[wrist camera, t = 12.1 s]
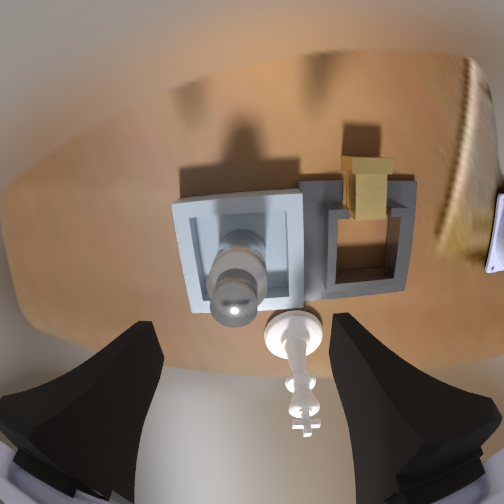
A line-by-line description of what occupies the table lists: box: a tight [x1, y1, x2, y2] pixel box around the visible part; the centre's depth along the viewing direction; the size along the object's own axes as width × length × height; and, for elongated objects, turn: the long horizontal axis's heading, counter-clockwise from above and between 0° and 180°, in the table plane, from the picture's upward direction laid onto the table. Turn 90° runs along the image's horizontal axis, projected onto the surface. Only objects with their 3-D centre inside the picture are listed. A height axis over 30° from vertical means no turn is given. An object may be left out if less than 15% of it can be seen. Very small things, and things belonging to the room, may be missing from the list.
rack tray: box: [171, 188, 304, 313], centre depth 18 cm, size 8×8×2 cm
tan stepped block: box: [342, 156, 393, 220], centre depth 16 cm, size 3×4×2 cm
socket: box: [298, 180, 417, 301], centre depth 18 cm, size 9×9×2 cm
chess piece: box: [264, 310, 322, 437], centre depth 18 cm, size 5×5×10 cm
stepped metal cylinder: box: [206, 229, 267, 327], centre depth 16 cm, size 3×3×7 cm
